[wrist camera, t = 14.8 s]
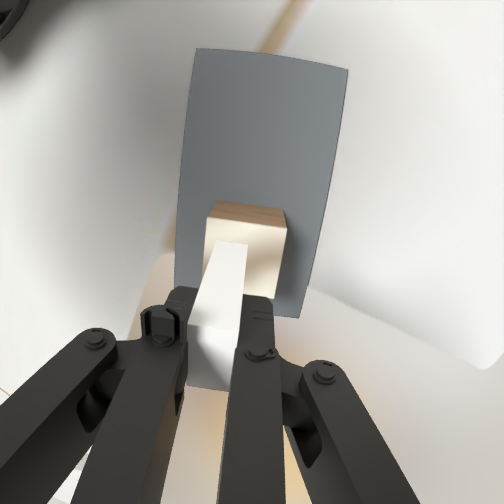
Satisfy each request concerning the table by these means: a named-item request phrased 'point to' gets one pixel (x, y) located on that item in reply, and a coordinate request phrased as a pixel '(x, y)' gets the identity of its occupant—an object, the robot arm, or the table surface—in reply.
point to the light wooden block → (250, 241)
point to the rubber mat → (259, 155)
